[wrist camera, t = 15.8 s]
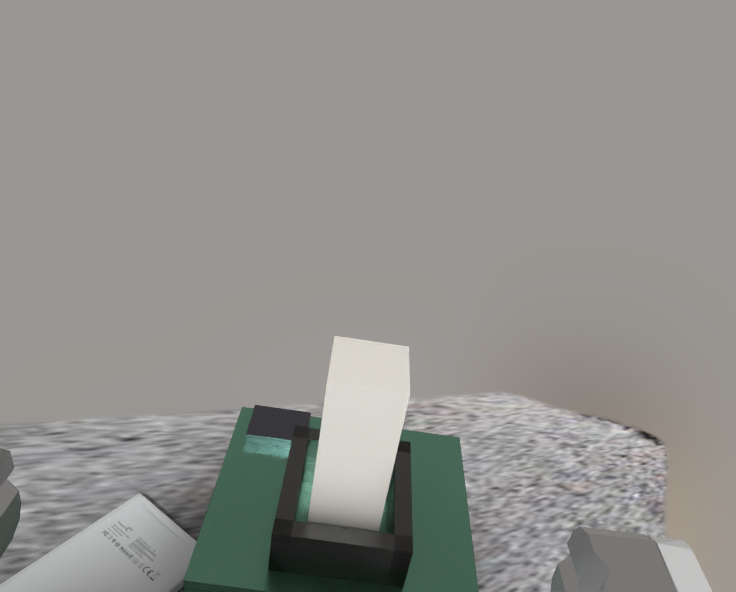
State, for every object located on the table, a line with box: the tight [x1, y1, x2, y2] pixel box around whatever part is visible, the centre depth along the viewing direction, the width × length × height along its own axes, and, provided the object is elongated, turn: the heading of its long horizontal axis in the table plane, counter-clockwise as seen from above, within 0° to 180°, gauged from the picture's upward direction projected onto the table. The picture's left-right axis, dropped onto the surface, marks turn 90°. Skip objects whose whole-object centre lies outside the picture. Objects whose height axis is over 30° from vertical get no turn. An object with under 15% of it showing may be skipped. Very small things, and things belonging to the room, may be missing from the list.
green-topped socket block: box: [183, 405, 478, 592], centre depth 40 cm, size 16×14×12 cm
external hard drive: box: [0, 494, 197, 592], centre depth 41 cm, size 2×8×12 cm
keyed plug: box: [308, 336, 410, 532], centre depth 34 cm, size 4×5×12 cm
